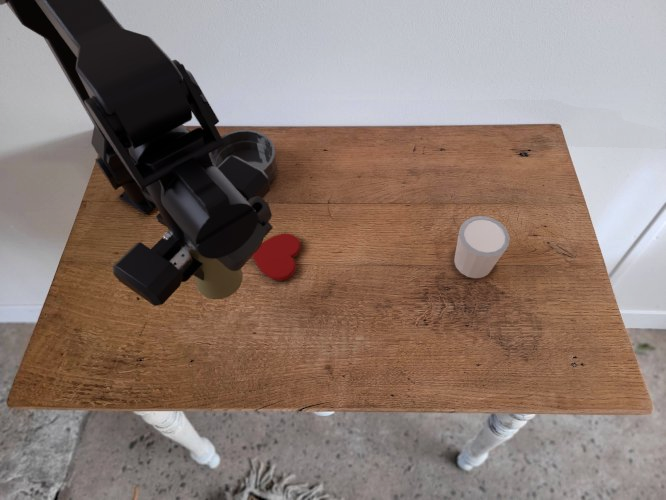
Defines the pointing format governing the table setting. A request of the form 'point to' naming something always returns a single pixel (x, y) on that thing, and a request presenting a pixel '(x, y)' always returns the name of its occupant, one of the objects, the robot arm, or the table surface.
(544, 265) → the table surface
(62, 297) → the table surface
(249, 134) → the bowl
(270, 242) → the lollipop
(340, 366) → the table surface
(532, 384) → the table surface
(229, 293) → the olive rounded peg
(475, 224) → the white cylinder
